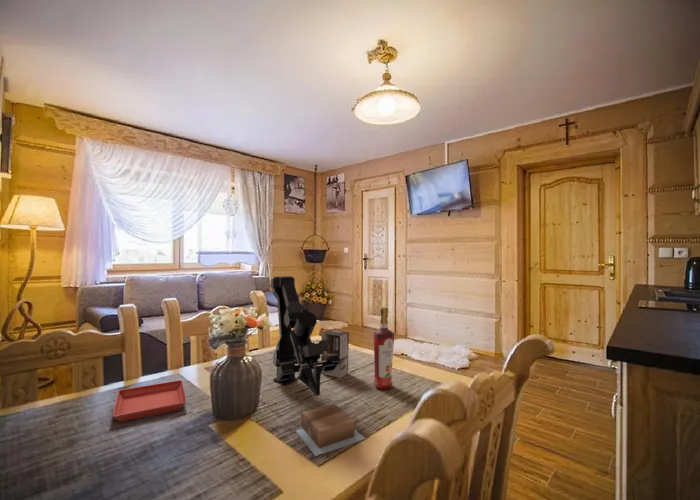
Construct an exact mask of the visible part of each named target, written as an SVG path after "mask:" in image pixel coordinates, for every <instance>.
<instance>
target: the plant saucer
mask: <svg viewBox="0 0 700 500" xmlns="http://www.w3.org/2000/svg"><path fill="white" fill-rule="evenodd" d="M186 403H187V396H186V391H185V387H184V381H183V380H181V379H180V380H174V381H168V382H160V383H156V384H150V385H149V384H148V385H144V386H143V385H142V386H137V387H132V388H131V387H130V388H125V389H124V388H123V389H120V390H117V394H116V400H115V404H114V407H113V412H112V417H113V418H114V419H115V420H117V421H119V422H121V423H122V422H128V421H133V420H137V419H143V418H146V417H147V418H148V417H151V416H156V415H161V414H166V413H170V412H175V411H179V410H181V409H182V408H183V407H184V406H185V404H186Z"/></svg>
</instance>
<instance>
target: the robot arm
mask: <svg viewBox="0 0 700 500" xmlns="http://www.w3.org/2000/svg"><path fill="white" fill-rule="evenodd" d="M295 281H296V280H295V277H294V276H290V275H288V276H287V275H281V276H277V275H276V276H275V275H274V276H273V278H271V279H270V284H269V286H270V289H271V290H272V295H273V297H275V299H276V300H277V303H276V304H277V314H278V315H277V316H278V330H279V339H278V341H277V343H276V345H275V349H274V353H273V356H272V362H273V363H272V364H273V365H274V366H275V368H276V372H275V373H276V374H275V375H276V377H275V378H273V379H272V380H273V381H274V382H276V383H279V384H281V385H283V386H284V385H288V384H291V383H293V382H295V381H301V382H302V383H303V384H304V385H306V387H308V388H309V390H310V391H311V392H312V394H313V395H314V396H315V397H318V396H320V393H321V377H322V374H321V373H322V371H323V370H324V371H325V372H328V371H333V370H335V369H336V368H337V366H338V365H339V364H340V362H341V359H340V356H339V355H337V354H333V355H327V356H326V357H325V359H324V360H323V361H321V360H320V359H321V354H324V351H328V350H329V346H328V343H327V341H326V340H319V341H318V342H317V343H315V342H313V341H312V339H311V335H312V334H313V331H314V330H315V327H316V326H317V325H316V324H317V321H318V319H317V316H316V315H315V314H314V313H313V312H312V311H309V309H308V308H306V306H305V305H304V304H302V303H301V302H300V298H299V295H298V291H297V289H296V284H295ZM296 373H297V376H296Z"/></svg>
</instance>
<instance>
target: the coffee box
mask: <svg viewBox="0 0 700 500" xmlns="http://www.w3.org/2000/svg"><path fill="white" fill-rule="evenodd" d="M349 333H350V332H349V331H341V330H336V329H328V330H326V331H322V332H321V340H326V341H327V343H328V346H329V350H328V351H324V354H321V355H320V356H321V357H320V359H321V360H320V361H323V360H324V359H325V357H326V356H327V355H333V354H337V355H339V356H340V359H341V362H340V364H339V365H338V366H337V368H336V369H335V370H333V371H328V372H325V371H324V370H323V371H322V373H321V375H322V374H323V375H326V376H329V377H330V376H331V377H334V378H337V379H342V377H345V376H347V375H349V347H350V346H349V344H350V343H349V342H350V337H349V335H350V334H349ZM321 340H320V341H321ZM346 374H347V375H346Z"/></svg>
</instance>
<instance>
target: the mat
mask: <svg viewBox="0 0 700 500" xmlns="http://www.w3.org/2000/svg"><path fill="white" fill-rule="evenodd" d="M295 432H296V434H297V435H298V436H299V438H300V439H301V440H302V442H304V444H305V445H306V446H307V448H308V449H309V450H310V452H311V453H312V454H313V455H314V456H315V457H318V456H320V455H323V454H327V453H329V452H332V451H336V450H339V449H341V448H345V447H347V446H350V445H353V444H355V443H356V444H357V443H358V442H361V441H365V440H366V437H364V435H362V434H361V433H360V432H359V431H358V430H357V429H355V437H352V438H349V439H346V440H343V441H340V442H337V443H334V444H331V445H328V446H325V447H322V448H319V447H318V446H317V445H316V444H315V442H314V441H313V440H312V439H311V438H310V437H309V435H308V434H307V433H306V432H305V431H304V429H303V428H300V429H296V430H295Z"/></svg>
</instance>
